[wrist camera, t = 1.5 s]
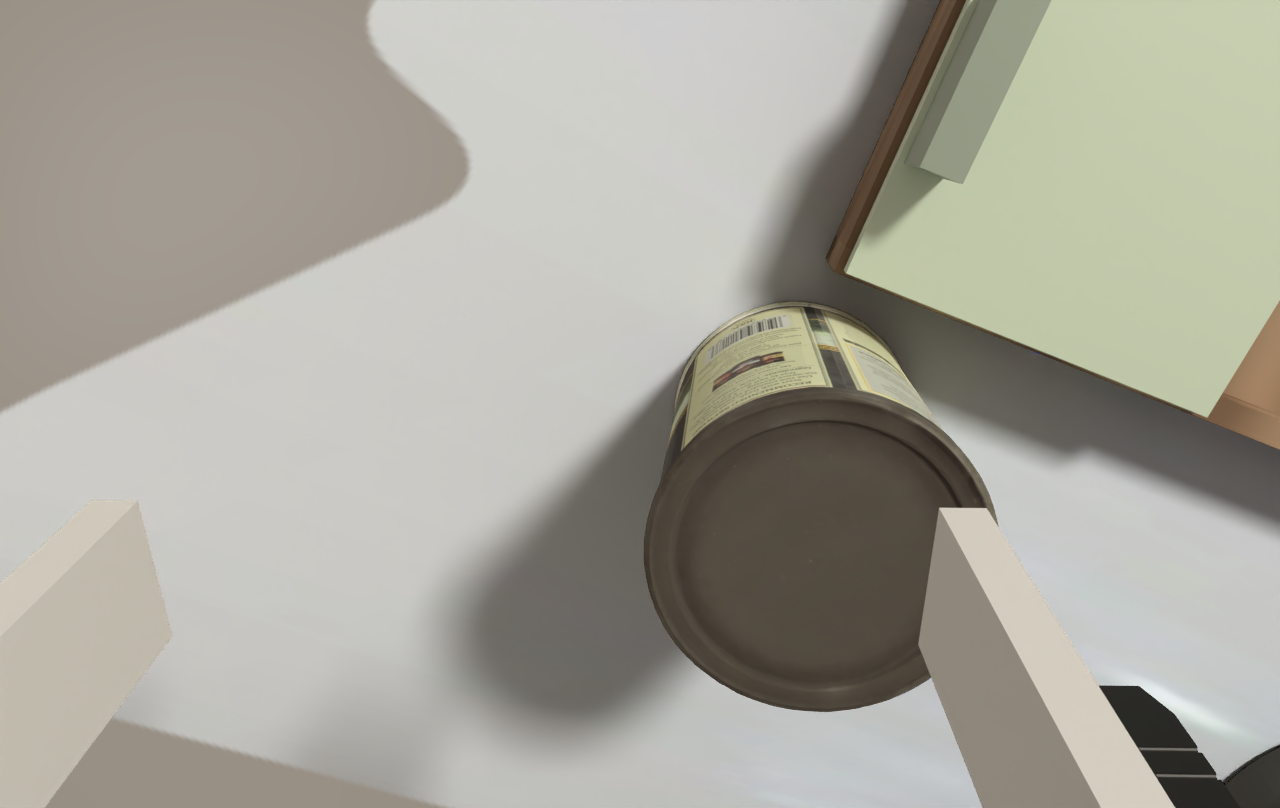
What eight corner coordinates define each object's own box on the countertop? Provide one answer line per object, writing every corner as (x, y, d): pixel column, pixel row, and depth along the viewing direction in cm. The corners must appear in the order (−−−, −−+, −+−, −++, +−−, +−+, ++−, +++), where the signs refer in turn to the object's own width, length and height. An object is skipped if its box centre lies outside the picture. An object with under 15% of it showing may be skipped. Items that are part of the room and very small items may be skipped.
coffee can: (804, 567, 42) (834, 773, 29) (627, 430, 41) (574, 578, 28) (965, 401, 40) (1081, 545, 26) (779, 249, 38) (800, 318, 25)
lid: (1435, 20, 31) (1529, 7, 27) (1197, 411, 35) (1249, 444, 31) (1031, -144, 30) (1071, -180, 27) (843, 270, 35) (855, 287, 31)
